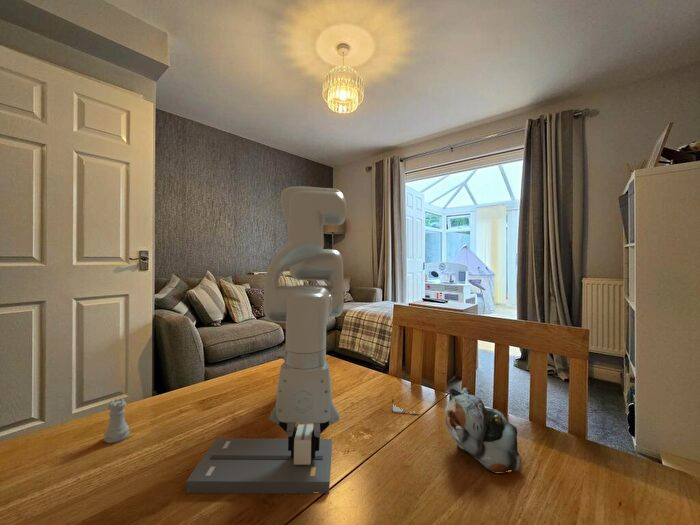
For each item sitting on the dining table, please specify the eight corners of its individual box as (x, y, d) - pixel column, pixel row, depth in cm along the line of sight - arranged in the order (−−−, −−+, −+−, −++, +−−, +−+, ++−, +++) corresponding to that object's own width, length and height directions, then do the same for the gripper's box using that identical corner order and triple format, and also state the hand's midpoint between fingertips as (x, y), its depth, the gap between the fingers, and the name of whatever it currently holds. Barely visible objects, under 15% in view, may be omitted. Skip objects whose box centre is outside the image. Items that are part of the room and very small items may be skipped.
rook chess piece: (115, 445, 63) (115, 407, 63) (98, 442, 64) (98, 405, 63) (134, 433, 67) (135, 397, 67) (118, 430, 68) (118, 395, 68)
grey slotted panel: (186, 492, 51) (186, 480, 51) (216, 447, 63) (216, 437, 63) (329, 493, 51) (329, 481, 51) (331, 448, 63) (331, 438, 63)
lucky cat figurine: (522, 486, 54) (486, 419, 53) (458, 483, 60) (426, 423, 60) (523, 424, 66) (494, 369, 65) (470, 427, 73) (443, 377, 72)
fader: (293, 464, 55) (294, 438, 54) (297, 446, 60) (298, 423, 59) (310, 464, 55) (310, 438, 54) (313, 447, 60) (313, 423, 59)
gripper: (256, 363, 53) (254, 467, 53) (349, 365, 53) (347, 468, 53) (267, 350, 60) (265, 441, 61) (348, 351, 61) (347, 441, 61)
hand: (303, 452), depth 57 cm, fingers closed on fader, 3 cm apart
